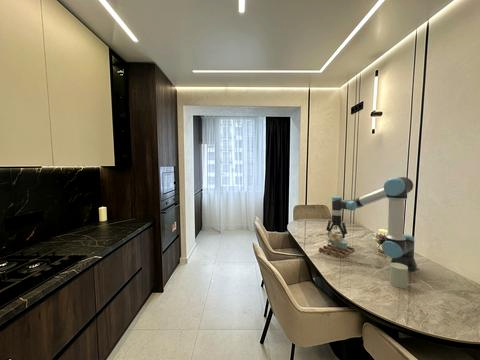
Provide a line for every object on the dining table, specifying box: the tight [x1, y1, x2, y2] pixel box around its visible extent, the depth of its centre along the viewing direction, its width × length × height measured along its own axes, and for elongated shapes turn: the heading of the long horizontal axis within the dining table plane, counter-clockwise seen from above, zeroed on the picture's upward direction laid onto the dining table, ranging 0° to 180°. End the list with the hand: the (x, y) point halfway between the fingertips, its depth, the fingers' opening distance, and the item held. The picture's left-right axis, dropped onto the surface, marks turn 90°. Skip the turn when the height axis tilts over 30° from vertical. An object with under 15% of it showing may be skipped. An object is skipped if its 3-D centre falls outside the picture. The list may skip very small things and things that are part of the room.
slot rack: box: [317, 241, 356, 259], centre depth 192 cm, size 20×24×3 cm
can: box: [388, 262, 409, 289], centre depth 137 cm, size 9×9×12 cm
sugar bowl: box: [326, 225, 342, 242], centre depth 218 cm, size 20×15×15 cm
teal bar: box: [334, 241, 348, 249], centre depth 196 cm, size 10×4×6 cm, turn 38°
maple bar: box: [329, 232, 341, 243], centre depth 191 cm, size 10×4×6 cm, turn 39°
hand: (336, 240), depth 191 cm, fingers closed on maple bar, 10 cm apart
